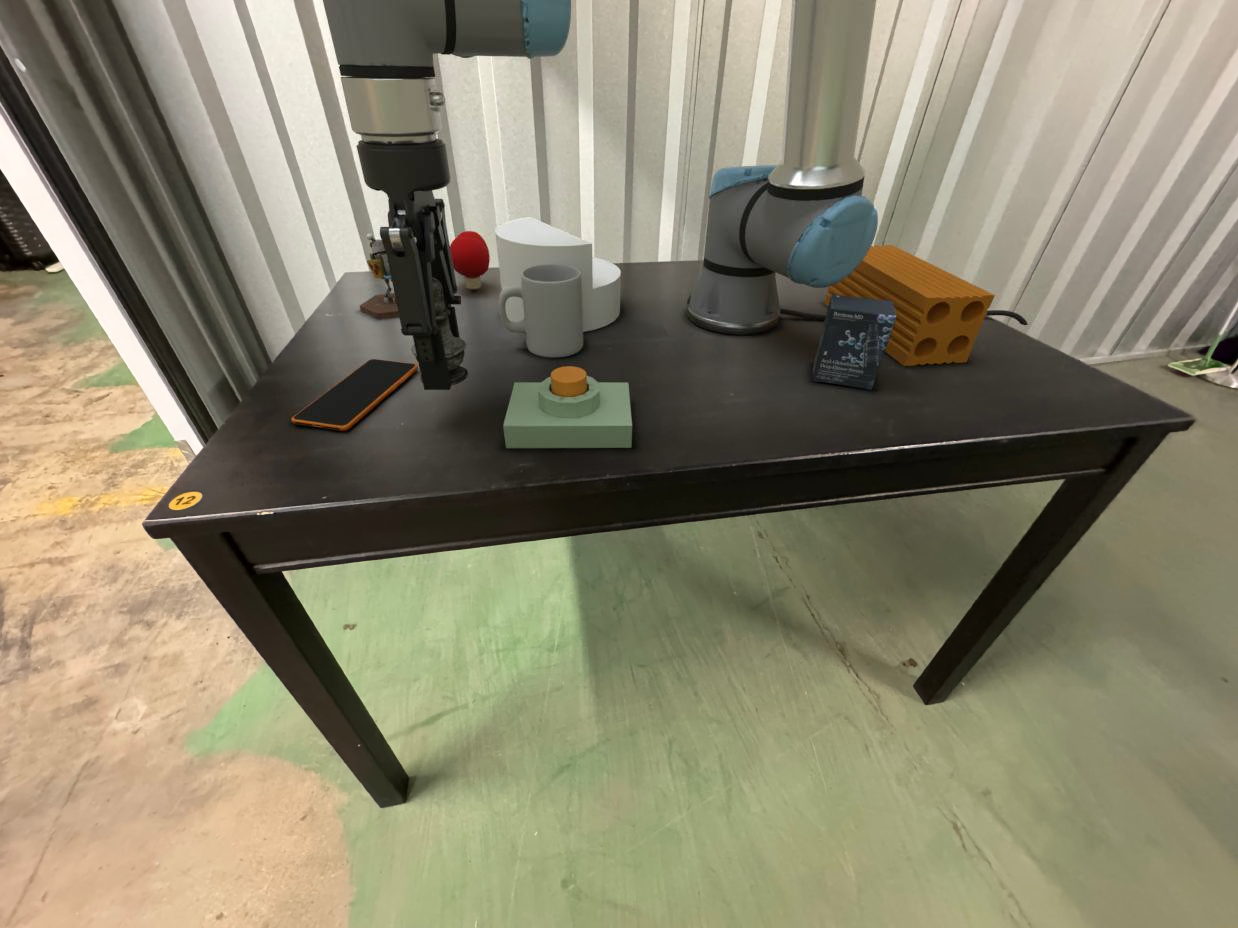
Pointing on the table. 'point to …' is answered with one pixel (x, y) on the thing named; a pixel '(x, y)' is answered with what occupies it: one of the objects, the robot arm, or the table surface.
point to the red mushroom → (470, 257)
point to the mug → (548, 309)
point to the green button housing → (569, 417)
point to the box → (853, 341)
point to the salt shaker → (447, 338)
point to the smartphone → (355, 395)
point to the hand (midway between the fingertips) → (444, 374)
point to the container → (548, 245)
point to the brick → (919, 305)
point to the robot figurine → (379, 266)
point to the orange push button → (569, 381)
